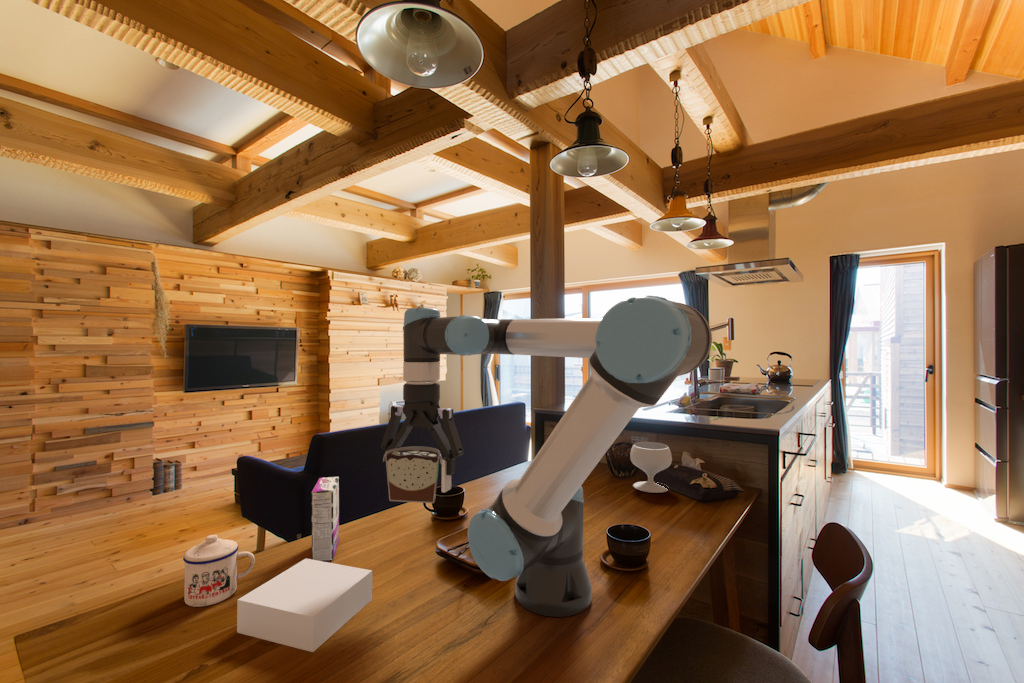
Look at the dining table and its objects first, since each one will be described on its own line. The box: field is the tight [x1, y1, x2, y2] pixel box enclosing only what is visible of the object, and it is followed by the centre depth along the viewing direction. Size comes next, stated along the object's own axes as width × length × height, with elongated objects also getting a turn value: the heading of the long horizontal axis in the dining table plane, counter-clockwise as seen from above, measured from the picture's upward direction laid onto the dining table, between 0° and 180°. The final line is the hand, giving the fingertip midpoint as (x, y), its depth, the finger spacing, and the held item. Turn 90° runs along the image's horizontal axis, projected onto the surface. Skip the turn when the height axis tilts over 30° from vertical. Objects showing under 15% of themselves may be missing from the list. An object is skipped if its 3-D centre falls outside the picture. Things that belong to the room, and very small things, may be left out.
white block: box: [236, 557, 373, 653], centre depth 83 cm, size 16×16×6 cm
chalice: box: [629, 441, 673, 494], centre depth 159 cm, size 14×14×15 cm
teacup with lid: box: [182, 534, 256, 608], centre depth 90 cm, size 12×9×12 cm
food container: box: [382, 445, 443, 504], centre depth 95 cm, size 12×6×10 cm, turn 83°
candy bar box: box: [311, 476, 340, 562], centre depth 109 cm, size 11×5×16 cm, turn 14°
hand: (421, 487), depth 95 cm, fingers closed on food container, 11 cm apart
